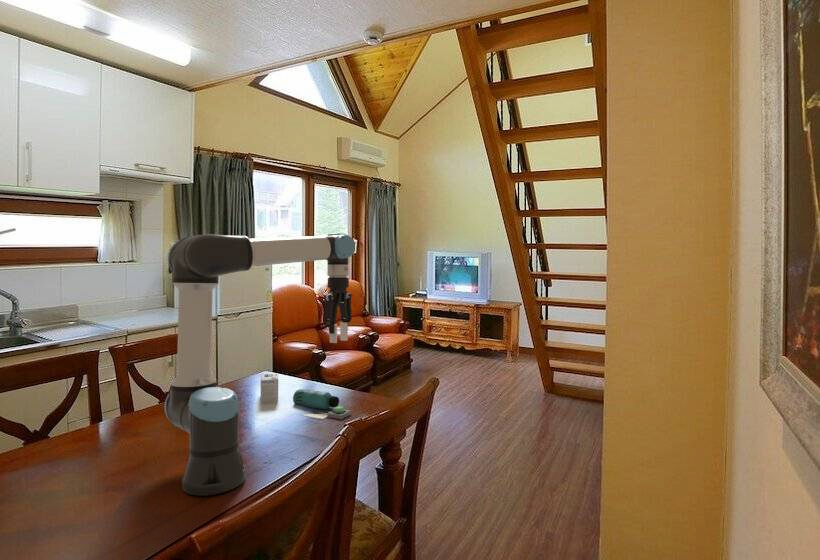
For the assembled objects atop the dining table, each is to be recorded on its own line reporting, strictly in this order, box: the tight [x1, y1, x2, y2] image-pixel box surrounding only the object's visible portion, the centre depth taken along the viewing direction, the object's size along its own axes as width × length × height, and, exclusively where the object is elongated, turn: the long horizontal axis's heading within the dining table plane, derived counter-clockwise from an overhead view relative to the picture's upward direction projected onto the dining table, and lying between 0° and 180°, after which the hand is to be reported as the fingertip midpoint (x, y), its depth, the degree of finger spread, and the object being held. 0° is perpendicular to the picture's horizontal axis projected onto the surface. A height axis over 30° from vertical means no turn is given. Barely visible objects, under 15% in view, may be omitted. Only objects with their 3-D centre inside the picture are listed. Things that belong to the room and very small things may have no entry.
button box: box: [327, 409, 352, 420], centre depth 164 cm, size 6×6×2 cm
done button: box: [333, 405, 345, 413], centre depth 164 cm, size 3×3×2 cm
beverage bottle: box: [292, 388, 340, 411], centre depth 173 cm, size 6×7×20 cm
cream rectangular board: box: [302, 413, 328, 420], centre depth 170 cm, size 16×12×1 cm
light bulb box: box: [260, 373, 279, 404], centre depth 180 cm, size 11×7×11 cm, turn 17°
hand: (338, 341), depth 163 cm, fingers open, 6 cm apart
